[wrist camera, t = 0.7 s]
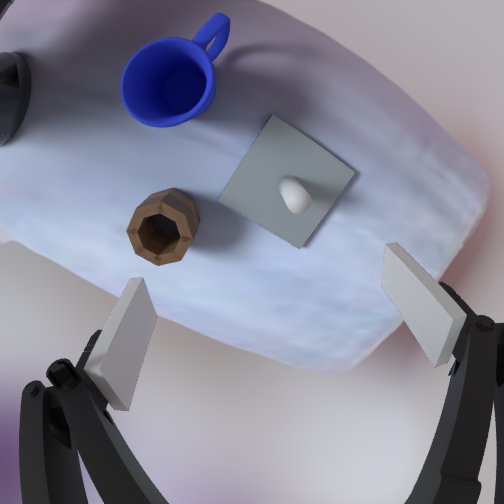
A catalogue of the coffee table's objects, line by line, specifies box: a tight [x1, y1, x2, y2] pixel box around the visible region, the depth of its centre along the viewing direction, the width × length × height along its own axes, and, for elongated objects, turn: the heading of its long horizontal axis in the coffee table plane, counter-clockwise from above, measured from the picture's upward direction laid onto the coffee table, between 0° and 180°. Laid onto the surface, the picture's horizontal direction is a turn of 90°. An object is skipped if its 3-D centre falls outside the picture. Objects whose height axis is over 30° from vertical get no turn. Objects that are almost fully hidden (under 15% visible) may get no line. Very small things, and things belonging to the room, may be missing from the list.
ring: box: [127, 188, 200, 266], centre depth 33 cm, size 7×7×6 cm
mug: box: [121, 13, 230, 127], centre depth 24 cm, size 8×12×10 cm
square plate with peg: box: [217, 115, 355, 249], centre depth 31 cm, size 12×12×8 cm
